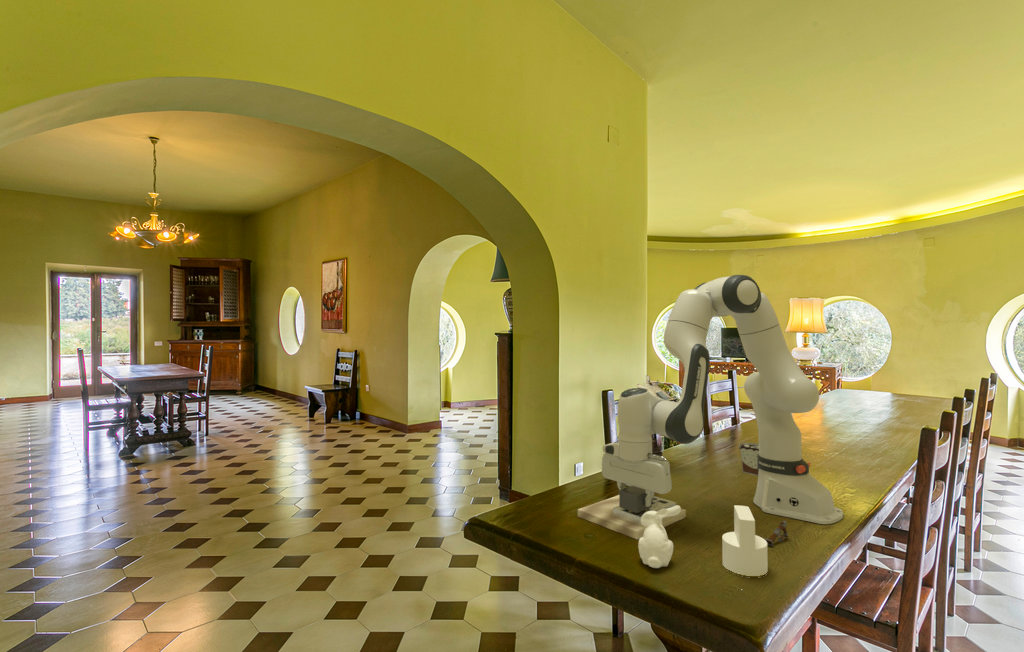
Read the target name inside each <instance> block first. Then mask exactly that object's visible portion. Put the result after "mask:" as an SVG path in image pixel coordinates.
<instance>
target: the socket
mask: <svg viewBox="0 0 1024 652" xmlns="http://www.w3.org/2000/svg"><path fill="white" fill-rule="evenodd" d="M676 505H677V502H675V501H673V500H669V499H665V498H661V497H659V496H655V495H653V497H652V507H651V508H648V511H656V512H658V511H659V510H661V509H668V508H671V507H674V506H676ZM648 511H641V512H639V513H635V512H632V513H631V512H629V510H626V509H623V508H620V505H619V506H616V507H613V517H614V518H617V519H620V520H623V521H625V522H628V523H631V524H634V525H636V526H639V527H643V526H644V525H642V524H641V517H642V515H643V514H644V513H646V512H648Z"/></svg>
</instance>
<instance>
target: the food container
mask: <svg viewBox="0 0 1024 652" xmlns="http://www.w3.org/2000/svg"><path fill="white" fill-rule="evenodd" d="M738 450H740V451H739V452H740V461H741V468H742V469H741V470H742V473H745V474H748V475H753V476H757V477H758V470H757V455H758V454H759V443H752V442H743V443H739V445H738Z"/></svg>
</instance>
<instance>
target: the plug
mask: <svg viewBox="0 0 1024 652" xmlns="http://www.w3.org/2000/svg"><path fill="white" fill-rule="evenodd" d="M618 490H619V489H618ZM618 492H619V493H618V495H619V505H620V508H623V509H626V510H629V512H631V513H632V512H635V513H639V512H641V511H648V508H651V507H652V499H651V506H649V507H647V506H644V505H643V500H642V499H644V498H646V496H647V494H646V490H645V489H642V488H638V487H635V486H628V487H625V488H624V489H622V490H619V491H618Z"/></svg>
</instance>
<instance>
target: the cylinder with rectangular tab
mask: <svg viewBox="0 0 1024 652" xmlns="http://www.w3.org/2000/svg"><path fill="white" fill-rule="evenodd" d="M733 523H734V524H733V527H734V528H733V529H734V531H729V532H726V533H723V534H722V537H721V542H722V545H721V547H722V548H721V551H722V552H721V553H722V558H721V559H722V566H724V567H725V568H726V569H728V570H730V571H732V572H734V573H737V574H741V575H746V576H760V575H764V574H766V573H767V572H768V571H769V570H768V568H769V567H768V563H769V562H768V558H769V557H768V545H767V542H766V540H764V539H765V538H763V537H761V536H759V535H757V534H756V520H755V518H754V515H753V513H752V511H751V509H750V507H749V506H746V505H733ZM724 567H723V568H724ZM725 568H724V569H725ZM726 569H725V570H726ZM728 570H727V571H728ZM734 573H733V574H734ZM767 574H768V573H767ZM767 574H766V575H767Z"/></svg>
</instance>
